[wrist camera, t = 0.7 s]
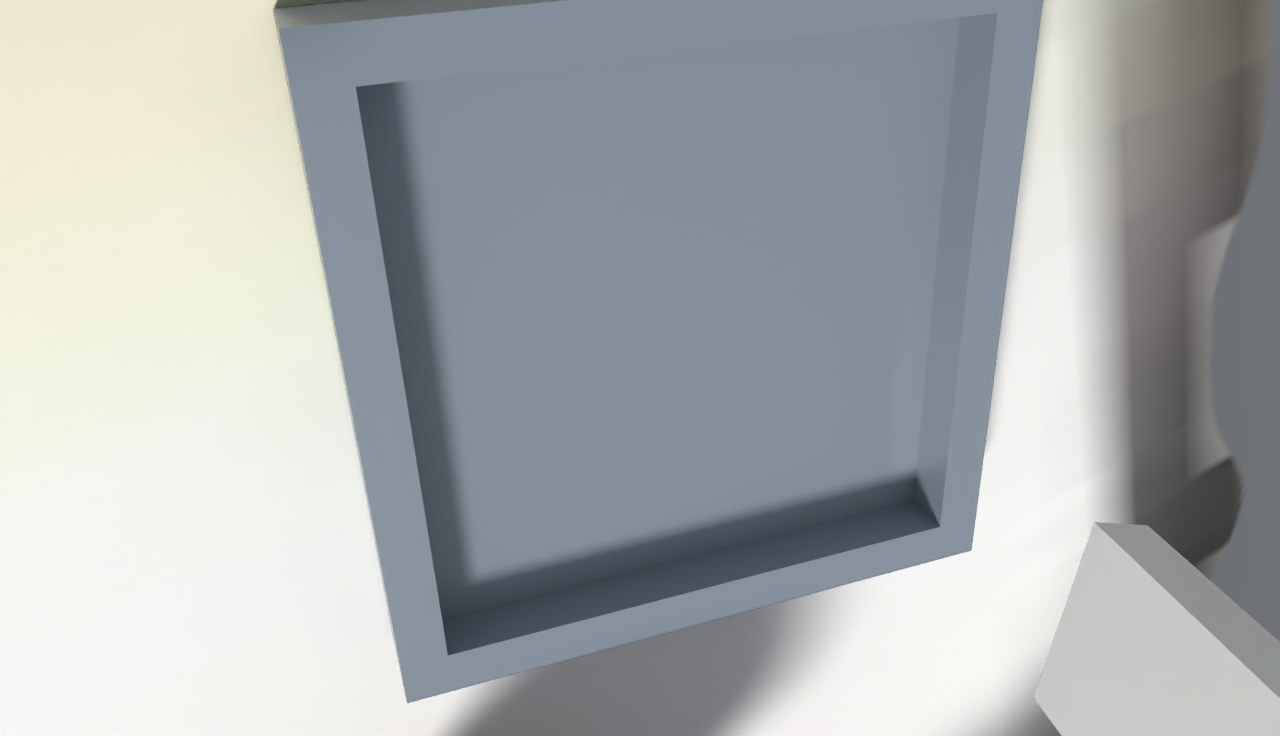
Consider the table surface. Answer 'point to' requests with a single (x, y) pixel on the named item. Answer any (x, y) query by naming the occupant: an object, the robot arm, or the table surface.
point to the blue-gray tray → (656, 300)
